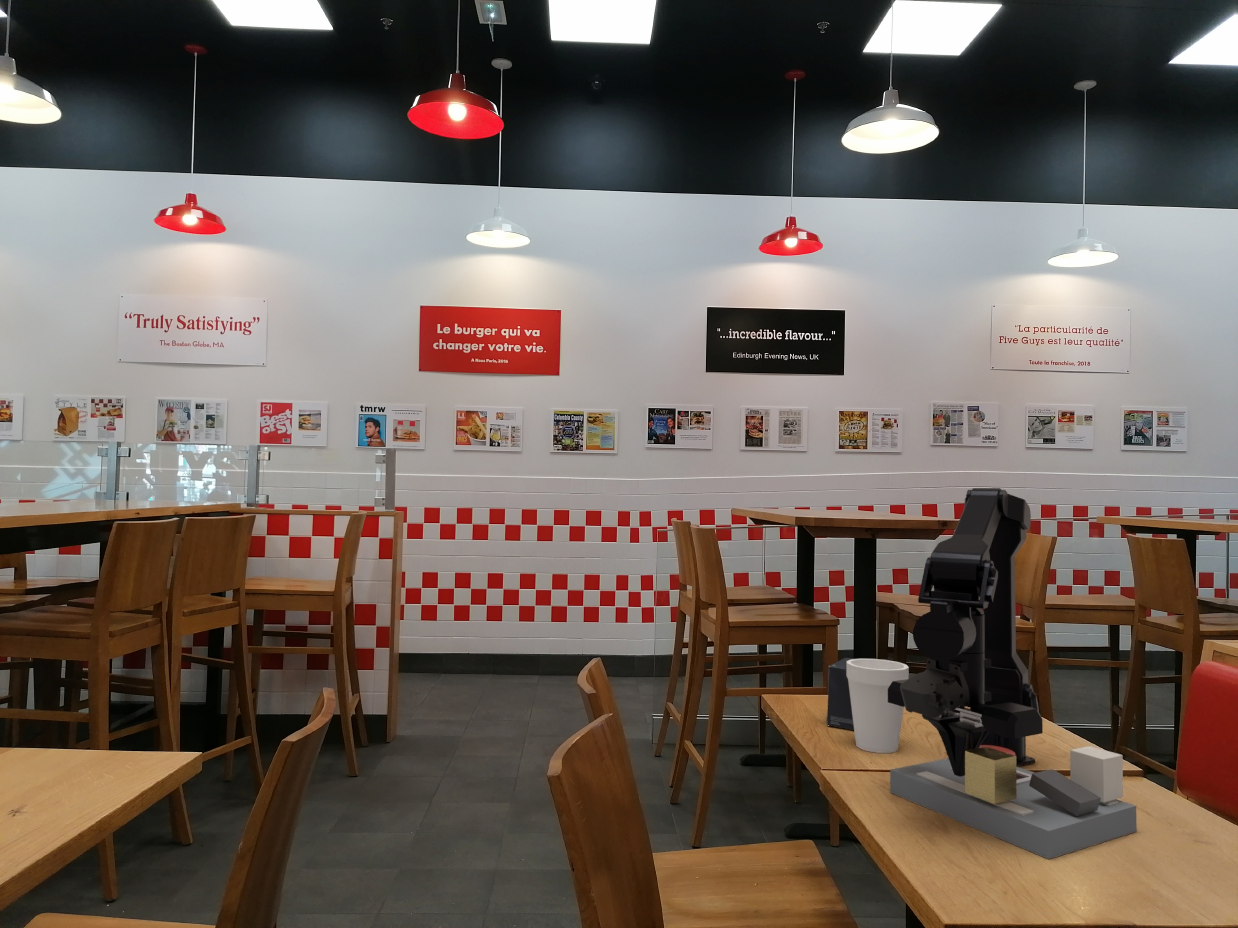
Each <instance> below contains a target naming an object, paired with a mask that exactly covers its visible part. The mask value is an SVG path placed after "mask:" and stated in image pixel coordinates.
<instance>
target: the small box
mask: <svg viewBox="0 0 1238 928" xmlns="http://www.w3.org/2000/svg"><path fill="white" fill-rule="evenodd" d="M851 659H852V658H851V657H850V658H849V657H844V658H842V659H840V660H837V661H836V662H834V663H832V664H829V665H828V669H827V670H828V671H827V677H828V678H827V714H826V726H827V725H829V726H828V727H831V726H835V727H834V728H837V727H839V729H842V728H845V729H844V730H848V729H850V730H849V731H853V730H854V724H853V716H852V708H851V699H850V691H849V682H848V678H847V676H846V672H847V661H848V660H851Z"/></svg>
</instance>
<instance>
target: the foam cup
mask: <svg viewBox="0 0 1238 928" xmlns="http://www.w3.org/2000/svg"><path fill="white" fill-rule="evenodd" d="M909 668H910V667H909V666H908V665H907V664H905V663H902V662H900V661H893V660H888V659H877V658H851V660H848V661H847V672H846V676H847V678H848V682H849V691H850V699H851V708H852V716H853V724H854V731H853V732H854V739H855V740H854V741H855V745H856V747H857V748H858V749H860V750H863V751H866V752H869V753H870V752H871V753H877V754H891V753H895V752H897V751H898V749H899V746H900V745H899V743H900V737H901V730H902V724H903V723H902V721H903V715H904V709H905V707H902V706H898V705H895V704H892V703H888V688H889V686H890V684H891V683H892V681H898V680H906V679H910V678H909V676H910V673H909V670H910V669H909Z"/></svg>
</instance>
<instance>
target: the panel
mask: <svg viewBox="0 0 1238 928" xmlns="http://www.w3.org/2000/svg"><path fill="white" fill-rule="evenodd" d="M1033 773H1035V772H1034V771H1032V770H1031V771H1030V770H1028V769H1024V768H1021V767H1019V766H1016V788H1017V799H1013V800H1009V801H1005V802H1001V803H997V804H993V803H991V802H988V801H986V800H983V799H980V798H978V797H975V796H972V795H970V794H967V793H965V776H962V777H959V776H956V775H954V772H953V770H952V767H951V764H950V761H949V758H942V759H937V760H932V761H927V762H923V763H922V762H921V763H917V764H912V765H908V766H902V767H896V768H891V769H890V771H889V776H890V777H889V784H890V785H889V790H890V791H889V792H890V794H893V795H895V796H898V797H900V798H902V799H905V800H907V801H909V802H912V803H914V804H917V805H919V806H921V807H924V808H927V809H929V810H930V811H934V812H936V813H938V814H940V815H943V816H945V817H948V818H950V819H952V820H955V821H956V822H960V823H961V824H964V825H967V826H969V827H971V828H973V829H976V830H979V831H981V832H983V833H986V834H988V835H990V836H992V837H995V838H998V839H1000V840H1002V841H1005V842H1007V843H1009V844H1012V845H1014V846H1016V847H1018V848H1021V849H1023V850H1025V851H1028V852H1030V853H1033V854H1036V855H1037V856H1039V857H1042V858H1045V859H1047V860H1051V859H1054V858H1057V857H1060V856H1064V855H1066V854H1070V853H1073V852H1077V851H1079V850H1083V849H1086V848H1089V847H1092V846H1095V845H1098V844H1102V843H1104V842H1108V841H1111V840H1114V839H1117V838H1121V837H1124V836H1127V835H1130V834H1134V833H1136V832H1137V831H1138V830H1137V826H1138V825H1137V805H1134V804H1132V803H1129V802H1126V801H1124V800H1120V799H1115V800H1111V801H1108V802H1101V801H1100V803H1099V806H1098V810H1096V811H1093V812H1089V813H1086V814H1082V815H1079V816H1076V815H1074V814H1073V813H1071V812H1070V811H1068V810H1067V809H1065V808H1063V807H1062V806H1060V805H1059V804H1057V803H1056V802H1054V801H1052V800H1051V799H1049V798H1048V797H1046V796H1044V795H1043V794H1041V793H1040V792H1038V791H1037V790H1035V789H1033V788H1032V787H1030V786H1029V783H1030V780H1031V776H1032V774H1033ZM1133 832H1134V833H1133Z"/></svg>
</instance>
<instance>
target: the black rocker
mask: <svg viewBox="0 0 1238 928" xmlns="http://www.w3.org/2000/svg"><path fill="white" fill-rule="evenodd" d="M1029 786H1030V787H1032V788H1033V789H1035V790H1037V791H1038V792H1040V793H1041V794H1043V795H1044V796H1046V797H1048V798H1049V799H1051V800H1052V801H1054V802H1056V803H1057V804H1059V805H1060V806H1062V807H1063V808H1065V809H1067V810H1068V811H1070V812H1071V813H1073V814H1074V815H1076V816H1079V815H1082V814H1086V813H1089V812H1093V811H1096V810H1098V806H1099V803H1100V799H1101V798H1100V797H1099V796H1097V795H1095V794H1094V793H1092V792H1090V791H1089V790H1087V789H1085V788H1084V787H1082V786H1080V785H1079V784H1077V783H1075V782H1074V781H1072V780H1070V778H1068V777H1067V776H1065V775H1063V774H1062V773H1060V772H1059V771H1057V770H1055V769H1053V768H1050V769H1046V770H1042V771H1037V772H1034V773H1033V774H1032V776H1031V780H1030V783H1029Z"/></svg>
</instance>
